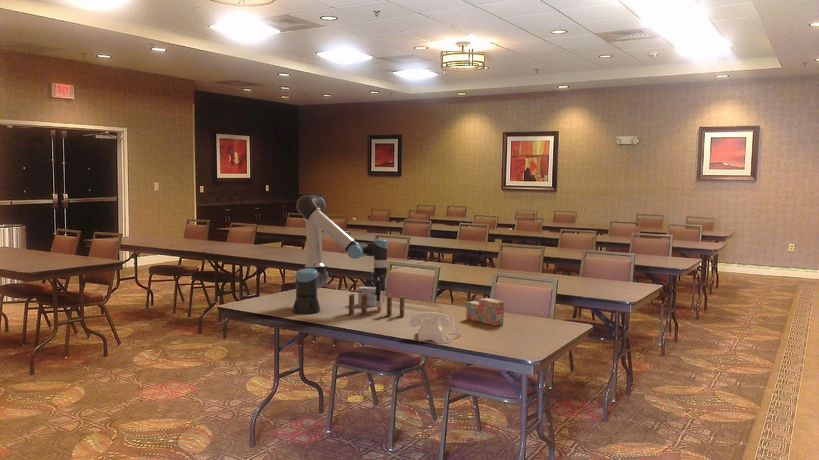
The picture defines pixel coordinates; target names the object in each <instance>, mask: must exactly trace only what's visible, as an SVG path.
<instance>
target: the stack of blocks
mask: <svg viewBox="0 0 819 460" xmlns="http://www.w3.org/2000/svg"><path fill="white" fill-rule="evenodd" d="M465 304H466V306H465V307H466V312H465V313H466V317H465V318H466V320H469V321H474V322H477V323H483V324H485V325H486V324H487V325H491V326H494V327H495V326H497V327H498V326H502V325H504V315H505V301H503V300H499V299H493V298H489V297H484V298H479V299H478V301H476V300H473V301H472V300H471V301H466V303H465Z"/></svg>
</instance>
